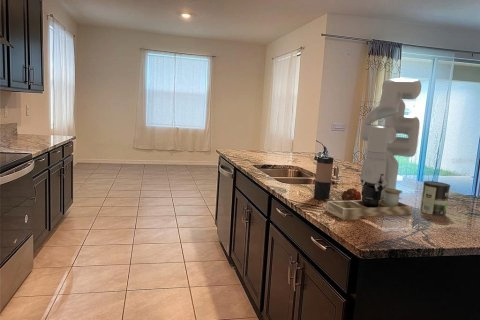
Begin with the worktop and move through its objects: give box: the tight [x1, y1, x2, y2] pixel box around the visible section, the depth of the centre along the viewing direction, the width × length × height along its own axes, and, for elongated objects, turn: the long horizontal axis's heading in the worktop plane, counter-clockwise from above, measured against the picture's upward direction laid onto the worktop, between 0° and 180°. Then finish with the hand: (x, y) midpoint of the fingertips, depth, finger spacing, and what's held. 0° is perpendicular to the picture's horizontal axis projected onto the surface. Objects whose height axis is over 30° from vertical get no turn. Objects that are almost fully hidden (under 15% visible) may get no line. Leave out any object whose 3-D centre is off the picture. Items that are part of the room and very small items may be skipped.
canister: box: [383, 188, 401, 207], centre depth 157 cm, size 6×6×9 cm
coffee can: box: [419, 180, 451, 216], centre depth 159 cm, size 10×10×14 cm
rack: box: [325, 199, 413, 221], centre depth 154 cm, size 34×13×4 cm, turn 110°
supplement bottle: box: [361, 182, 379, 208], centre depth 153 cm, size 7×7×12 cm
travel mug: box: [313, 156, 334, 201], centre depth 174 cm, size 8×8×20 cm
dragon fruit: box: [340, 187, 362, 201], centre depth 167 cm, size 8×8×12 cm
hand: (370, 197), depth 153 cm, fingers closed on supplement bottle, 6 cm apart
